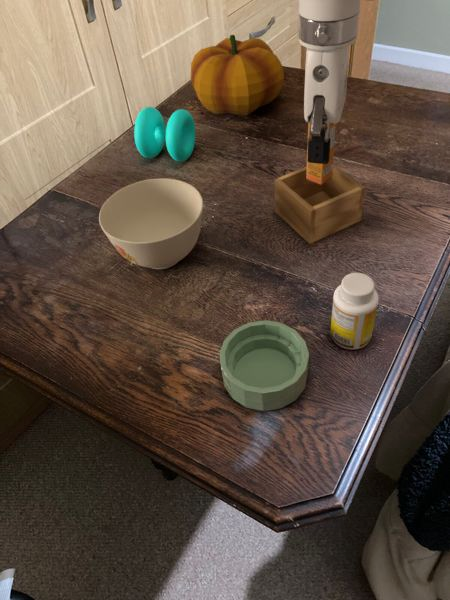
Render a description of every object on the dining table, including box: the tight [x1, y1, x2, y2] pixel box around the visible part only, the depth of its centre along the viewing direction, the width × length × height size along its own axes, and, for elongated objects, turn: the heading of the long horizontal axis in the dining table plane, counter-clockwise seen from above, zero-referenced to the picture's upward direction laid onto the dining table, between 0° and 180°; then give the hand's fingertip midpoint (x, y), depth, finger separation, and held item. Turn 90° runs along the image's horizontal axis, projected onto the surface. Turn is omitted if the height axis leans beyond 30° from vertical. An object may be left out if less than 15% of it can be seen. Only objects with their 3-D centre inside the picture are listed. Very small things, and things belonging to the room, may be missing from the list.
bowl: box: [98, 177, 204, 270], centre depth 79 cm, size 16×16×10 cm
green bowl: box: [218, 319, 310, 412], centre depth 63 cm, size 11×11×4 cm
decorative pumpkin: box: [190, 34, 285, 116], centre depth 111 cm, size 20×22×15 cm
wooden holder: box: [273, 163, 366, 245], centre depth 83 cm, size 11×11×7 cm
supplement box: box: [306, 116, 337, 185], centre depth 76 cm, size 3×3×10 cm
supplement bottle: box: [329, 272, 380, 350], centre depth 64 cm, size 6×6×10 cm
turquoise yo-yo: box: [133, 106, 196, 163], centre depth 100 cm, size 10×10×10 cm
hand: (320, 152), depth 77 cm, fingers closed on supplement box, 4 cm apart
